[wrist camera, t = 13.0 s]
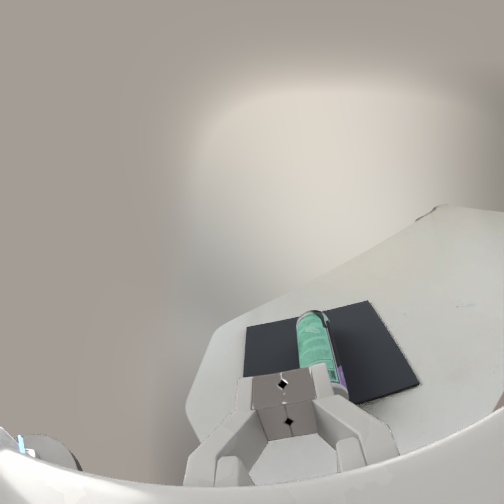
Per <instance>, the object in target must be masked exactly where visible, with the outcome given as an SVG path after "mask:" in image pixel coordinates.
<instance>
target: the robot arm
mask: <svg viewBox="0 0 504 504" xmlns="http://www.w3.org/2000/svg"><path fill="white" fill-rule="evenodd" d="M314 433H318V435H319V436H321V437H322V438H323V439H324V440H325V441H326V442H327V443H328V444H329V445H330V446H331V447H332V448H333V449H334V450H336V455H337V474H332V475H327V476H322V477H317V478H311V479H306V480H299V481H293V482H285V483H277V484H267V485H256V486H255V484H254V482H253V481H252V479H251V477H250V476H249V474H248V473H249V471H250V470H251V468H252V467H253V465H254V464H255V462H256V461H257V459H258V458H259V456H260V455H261V453H262V452H263V450H264V448H265V447H266V445H267V444H268V441H271V440H278V439H283V438H289V437H295V436H302V435H308V434H314ZM18 438H19V444H18V443H17V442H16V441H15V440H14V439H13V438H12V437H11V436H10V435H9V434H8V433H7V432H6V430H5V429H3V428H2V427H0V504H504V406H503V407H501V408H500V409H498V410H496V411H495V412H493V413H491V414H490V415H488V416H486V417H484V418H482V419H481V420H479V421H477V422H475V423H473V424H471V425H469V426H468V427H466V428H464V429H462V430H460V431H458V432H455V433H453V434H451V435H449V436H447V437H445V438H443V439H440V440H438V441H436V442H433V443H431V444H429V445H426V446H424V447H421V448H419V449H416V450H414V451H411V452H408V453H405V454H403V455H400V454H399V451H398V448H397V445H396V443H395V440H394V438H393V435H392V432H391V430H390V427H389V425H387V424H385V423H384V422H382V421H380V420H379V419H377V418H375V417H374V416H372V415H371V414H369V413H367V412H366V411H364V410H363V409H361V408H359V407H358V406H356V405H355V404H353V403H352V402H350V401H348V400H347V399H345V398H344V397H342V396H341V395H339V394H338V395H334V391H333V388H332V384H331V381H330V377H329V373H328V370H327V366H326V364H325V363H320V364H316V365H312V366H308V367H304V368H299V369H294V370H289V371H284V372H278V373H272V374H265V375H258V376H253V377H244V378H239V379H238V382H237V393H236V404H235V412H232V413H230V414H229V415H228V416H227V417H226V418H225V419H224V420H223V421H222V423H221V424H220V425H219V426H218V427H217V428H216V429H215V430H214V431H213V432H212V433H211V434H210V435H209V436H208V437H207V438H206V439H205V440H204V441H203V442H202V443H201V444H200V445H199V447H198V448H197V449H196V450H195V451H194V452H193V453H192V454H191V455H190V456H189V458H188V462H187V467H186V472H185V477H184V482H183V486H168V485H158V484H149V483H140V482H133V481H127V480H120V479H115V478H109V477H104V476H100V475H95V474H91V473H86V472H82V471H78V470H74V469H71V468H67V467H64V466H60V465H57V464H54V463H50V462H47V461H44V460H41V459H39V455H38V453H37V452H36V451H35V450H33V449H25V448H24V444H23V438H22V437H21V436H20V435H18Z"/></svg>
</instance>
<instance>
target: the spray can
mask: <svg viewBox="0 0 504 504" xmlns="http://www.w3.org/2000/svg"><path fill="white" fill-rule="evenodd" d="M296 331H297V341H298V352H299V362H300V368H304V367H308V366H312V365H316V364H320V363H325V364H326V366H327V370H328V373H329V377H330V381H331V384H332V388H333V391H334V395H338V394H339V395H341V396H342V397H344V398H345V399H347V400H348V401H349V395H348V390H347V386H346V382H345V378H344V375H343V371H342V367H341V363H340V359H339V355H338V352H337V348H336V344H335V341H334V337H333V333H332V330H331V326H330V323H329V320H328V318H327V316H326V315H325V314H324V313H323V312H321V311H317V310H311V311H307V312H305V313H303V314H302V315H301V316H300V317H299V318H298V320H297V325H296Z"/></svg>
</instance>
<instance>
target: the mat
mask: <svg viewBox="0 0 504 504" xmlns="http://www.w3.org/2000/svg"><path fill="white" fill-rule="evenodd" d="M323 313H324V314H325V315H326V316H327V318H328V320H329V323H330V326H331V330H332V333H333V337H334V341H335V344H336V348H337V352H338V355H339V359H340V363H341V367H342V371H343V375H344V378H345V382H346V386H347V390H348V395H349V401H350V402H352V403H353V404H355V405H356V404H360V403H363V402H367V401H370V400H374V399H377V398H381V397H384V396H387V395H390V394H393V393H396V392H399V391H402V390H405V389H408V388H411V387H414V386H416V385H419V381H418V380H417V378H416V376H415V375H414V373H413V371H412V370H411V368H410V366H409V364H408V363H407V361H406V360H405V358H404V356H403V355H402V353H401V351H400V350H399V348H398V346H397V345H396V343H395V342H394V340H393V338H392V337H391V335H390V334H389V332H388V331H387V329H386V327H385V326H384V324H383V323H382V321H381V320H380V318H379V317H378V315H377V314H376V312H375V310H374V309H373V307H372V306H371V304H370V303H369V301H368V300H367V301H363V302H360V303H356V304H352V305H348V306H344V307H339V308H335V309H331V310H327V311H323ZM298 318H299V317H295V318H291V319H286V320H281V321H276V322H271V323H266V324H261V325H255V326H250V327H247V332H246V345H245V359H244V373H243V378H244V377H253V376H258V375H265V374H272V373H278V372H284V371H289V370H294V369H299V368H300V362H299V352H298V341H297V331H296V325H297V320H298Z"/></svg>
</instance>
